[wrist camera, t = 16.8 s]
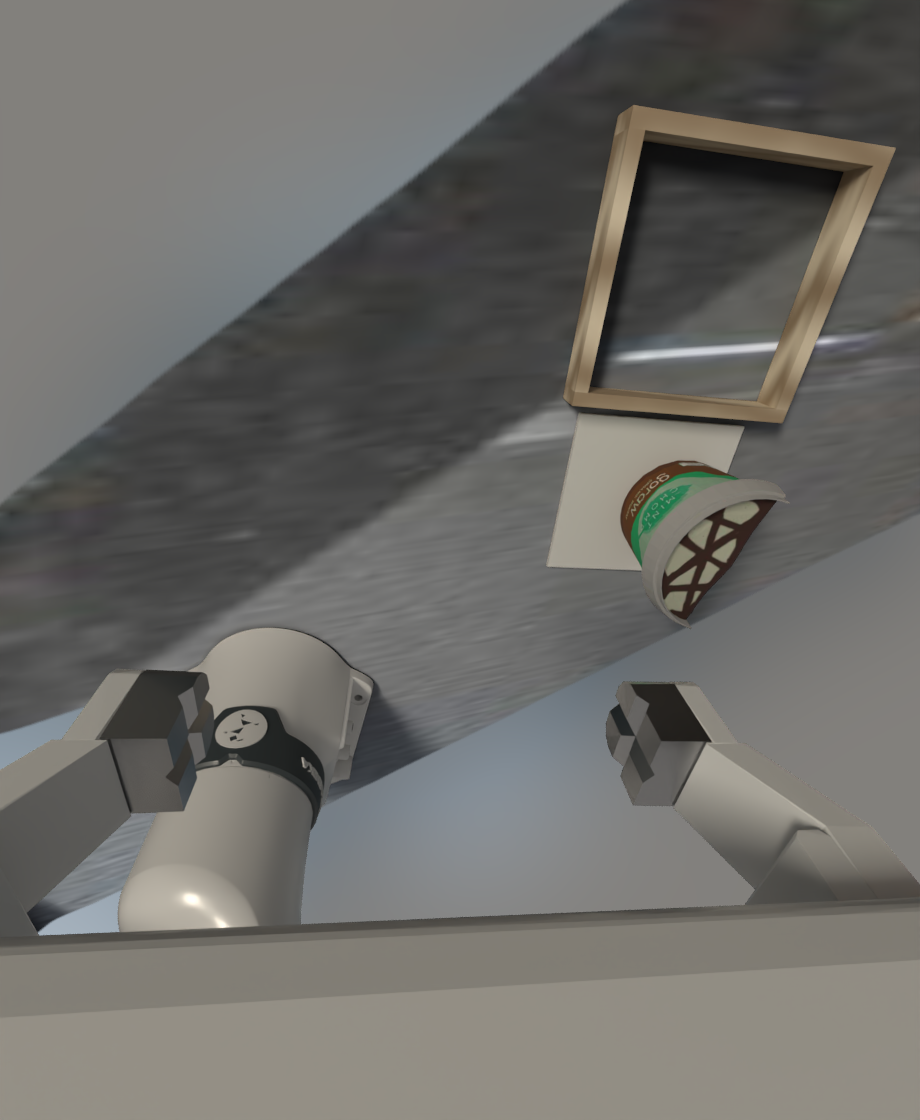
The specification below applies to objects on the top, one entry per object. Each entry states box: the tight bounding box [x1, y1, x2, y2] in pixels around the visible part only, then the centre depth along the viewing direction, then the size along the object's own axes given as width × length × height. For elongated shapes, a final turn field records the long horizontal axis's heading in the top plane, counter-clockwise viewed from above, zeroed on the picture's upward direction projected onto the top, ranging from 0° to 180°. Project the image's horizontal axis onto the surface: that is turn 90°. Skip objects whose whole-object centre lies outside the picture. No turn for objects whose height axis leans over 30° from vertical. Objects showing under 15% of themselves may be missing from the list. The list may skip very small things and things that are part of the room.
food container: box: [620, 460, 789, 629], centre depth 40 cm, size 12×6×10 cm, turn 157°
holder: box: [563, 105, 896, 423], centre depth 36 cm, size 17×17×2 cm
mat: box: [546, 412, 744, 571], centre depth 45 cm, size 14×14×1 cm
